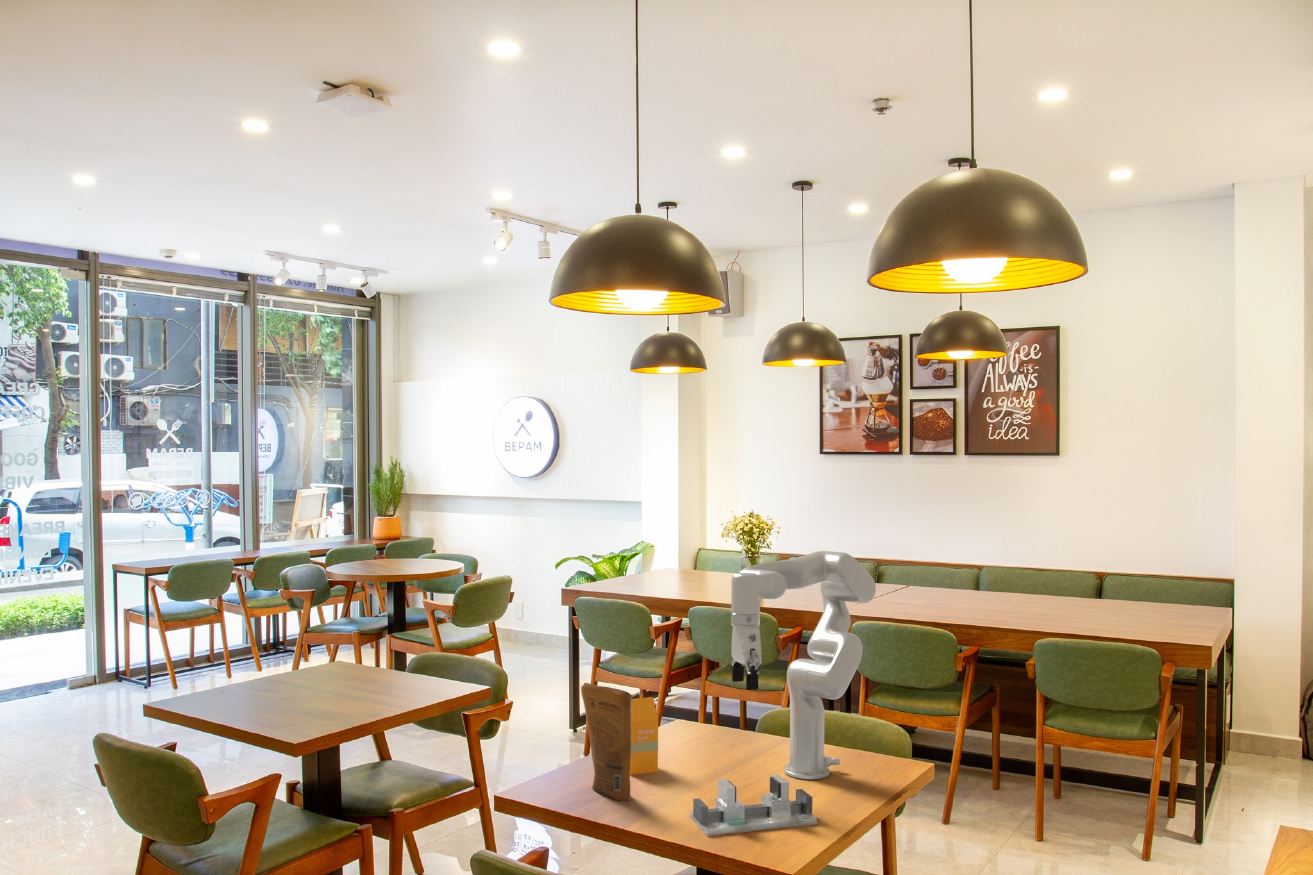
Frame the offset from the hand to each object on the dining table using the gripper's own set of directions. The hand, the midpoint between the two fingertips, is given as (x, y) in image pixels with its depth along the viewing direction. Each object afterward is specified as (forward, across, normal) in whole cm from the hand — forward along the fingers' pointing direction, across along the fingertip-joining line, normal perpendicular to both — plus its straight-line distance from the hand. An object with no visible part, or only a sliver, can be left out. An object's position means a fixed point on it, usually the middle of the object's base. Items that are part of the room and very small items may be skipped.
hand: (744, 685), depth 246 cm
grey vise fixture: (+28, -18, +5) cm, 34 cm away
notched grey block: (+27, -18, +11) cm, 34 cm away
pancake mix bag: (+28, +10, +34) cm, 45 cm away
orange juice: (+28, +27, +21) cm, 45 cm away
